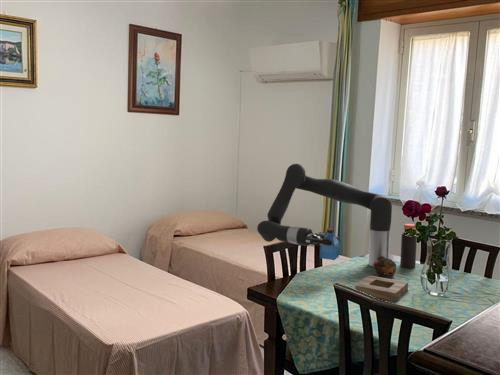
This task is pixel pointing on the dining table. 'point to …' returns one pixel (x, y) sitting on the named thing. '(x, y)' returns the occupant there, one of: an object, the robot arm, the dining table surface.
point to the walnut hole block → (383, 288)
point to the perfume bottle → (330, 247)
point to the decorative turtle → (385, 266)
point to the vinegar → (408, 249)
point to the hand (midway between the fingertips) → (335, 241)
